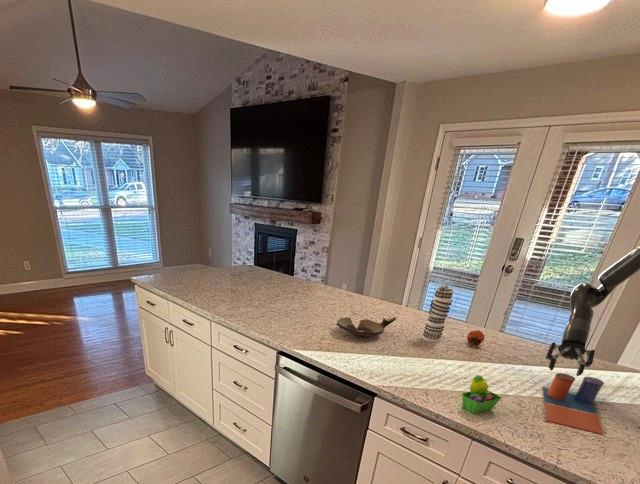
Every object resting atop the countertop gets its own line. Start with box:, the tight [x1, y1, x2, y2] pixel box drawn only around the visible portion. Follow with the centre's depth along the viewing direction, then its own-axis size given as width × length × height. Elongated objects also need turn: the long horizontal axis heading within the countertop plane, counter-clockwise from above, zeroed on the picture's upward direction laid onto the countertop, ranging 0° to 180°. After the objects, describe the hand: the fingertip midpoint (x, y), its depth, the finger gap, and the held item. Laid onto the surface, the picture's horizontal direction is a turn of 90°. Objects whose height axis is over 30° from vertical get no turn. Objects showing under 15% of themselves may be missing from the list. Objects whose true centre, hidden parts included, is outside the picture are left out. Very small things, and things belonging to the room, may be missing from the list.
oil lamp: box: [335, 316, 397, 337], centre depth 204 cm, size 22×30×8 cm
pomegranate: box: [466, 329, 485, 347], centre depth 197 cm, size 7×7×10 cm
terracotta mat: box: [544, 402, 604, 436], centre depth 142 cm, size 16×14×1 cm
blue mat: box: [542, 386, 598, 415], centre depth 153 cm, size 16×14×1 cm
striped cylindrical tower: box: [422, 284, 455, 343], centre depth 197 cm, size 9×9×25 cm
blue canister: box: [574, 376, 605, 404], centre depth 151 cm, size 6×6×8 cm
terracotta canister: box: [547, 372, 576, 400], centre depth 153 cm, size 6×6×8 cm
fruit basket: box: [461, 374, 502, 414], centre depth 143 cm, size 11×9×11 cm
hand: (564, 372), depth 153 cm, fingers open, 8 cm apart
